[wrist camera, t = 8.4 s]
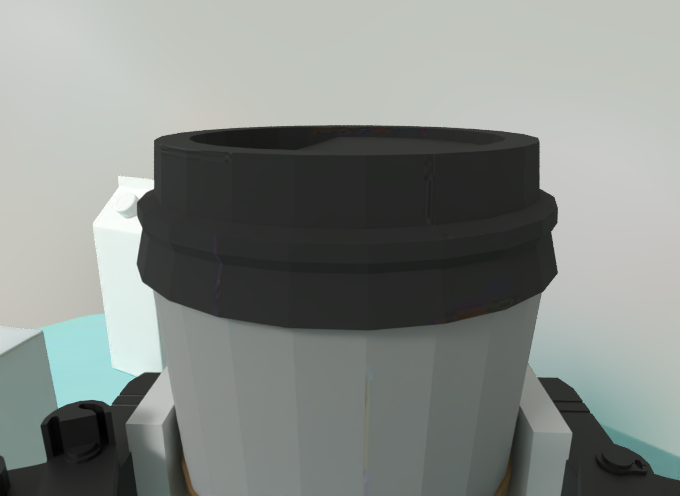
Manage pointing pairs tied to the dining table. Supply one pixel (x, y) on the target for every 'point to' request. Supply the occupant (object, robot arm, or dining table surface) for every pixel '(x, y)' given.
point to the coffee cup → (347, 304)
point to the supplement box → (24, 396)
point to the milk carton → (127, 283)
